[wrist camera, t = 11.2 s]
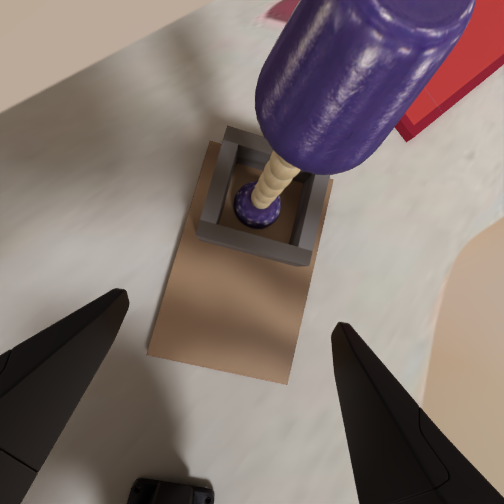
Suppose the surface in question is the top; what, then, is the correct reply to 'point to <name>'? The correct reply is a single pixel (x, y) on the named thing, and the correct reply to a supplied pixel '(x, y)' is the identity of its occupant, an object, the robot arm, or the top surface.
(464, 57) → the red board with handle
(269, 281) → the mount board
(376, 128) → the toy lamp
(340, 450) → the top surface
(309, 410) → the top surface
